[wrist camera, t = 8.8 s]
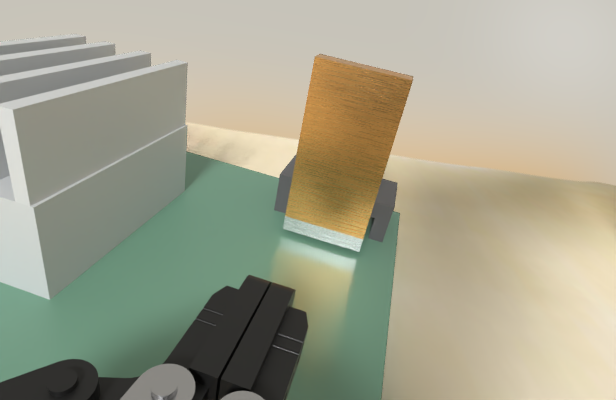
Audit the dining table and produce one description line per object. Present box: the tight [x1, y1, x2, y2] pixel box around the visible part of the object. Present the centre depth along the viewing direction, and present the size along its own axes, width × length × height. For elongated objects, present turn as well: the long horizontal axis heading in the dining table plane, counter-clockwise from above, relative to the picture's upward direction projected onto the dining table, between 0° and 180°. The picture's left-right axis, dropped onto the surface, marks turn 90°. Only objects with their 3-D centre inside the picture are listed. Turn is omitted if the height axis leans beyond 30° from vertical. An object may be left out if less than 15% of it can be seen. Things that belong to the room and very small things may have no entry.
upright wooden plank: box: [283, 54, 413, 252], centre depth 26 cm, size 6×5×11 cm
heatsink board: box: [0, 34, 400, 400], centre depth 21 cm, size 24×24×11 cm
